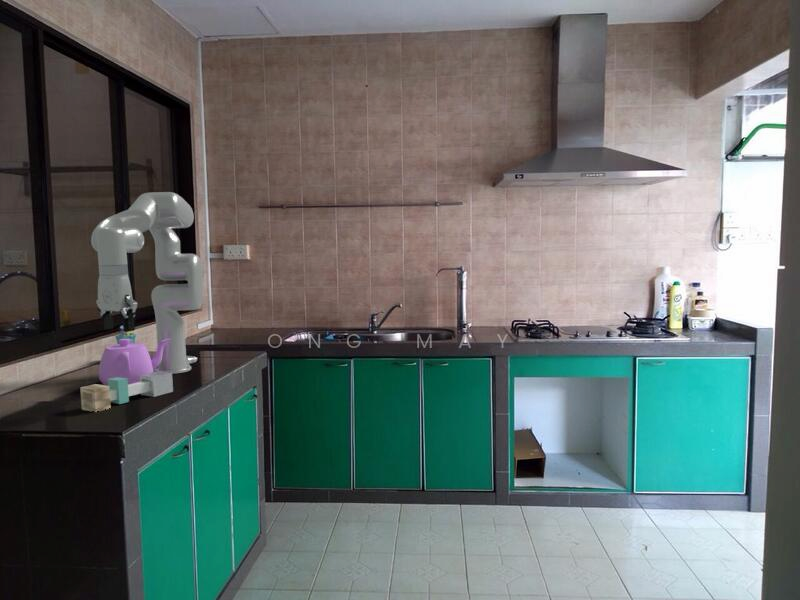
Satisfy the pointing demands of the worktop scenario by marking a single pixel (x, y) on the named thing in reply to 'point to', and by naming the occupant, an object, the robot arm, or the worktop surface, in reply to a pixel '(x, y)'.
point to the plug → (126, 389)
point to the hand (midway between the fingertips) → (118, 330)
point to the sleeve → (158, 383)
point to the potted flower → (126, 336)
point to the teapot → (128, 361)
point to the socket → (95, 397)
